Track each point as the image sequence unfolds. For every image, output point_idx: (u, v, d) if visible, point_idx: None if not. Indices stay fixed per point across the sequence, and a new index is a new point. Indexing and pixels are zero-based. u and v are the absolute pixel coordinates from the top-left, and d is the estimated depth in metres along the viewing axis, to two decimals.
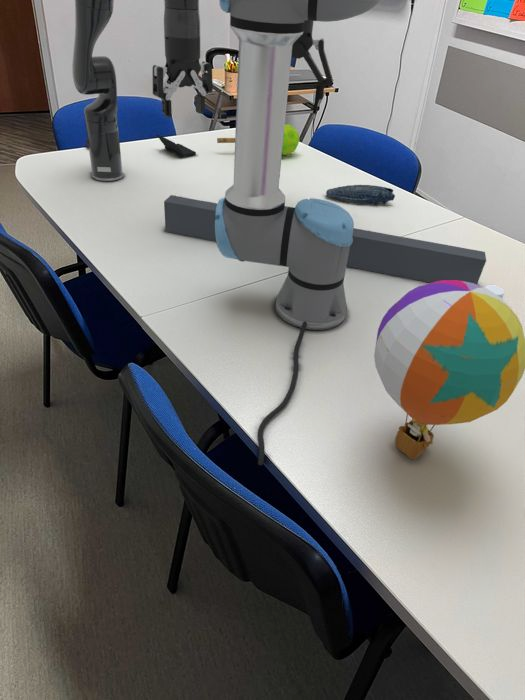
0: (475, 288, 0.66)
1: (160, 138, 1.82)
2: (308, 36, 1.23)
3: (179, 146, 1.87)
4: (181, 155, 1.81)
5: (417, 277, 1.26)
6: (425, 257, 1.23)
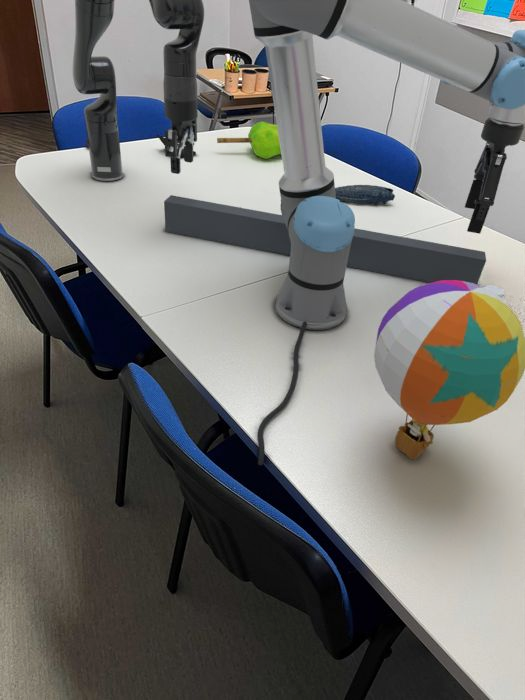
0: (475, 288, 0.66)
1: (160, 138, 1.82)
2: None
3: None
4: (181, 155, 1.81)
5: (417, 277, 1.26)
6: (425, 257, 1.23)
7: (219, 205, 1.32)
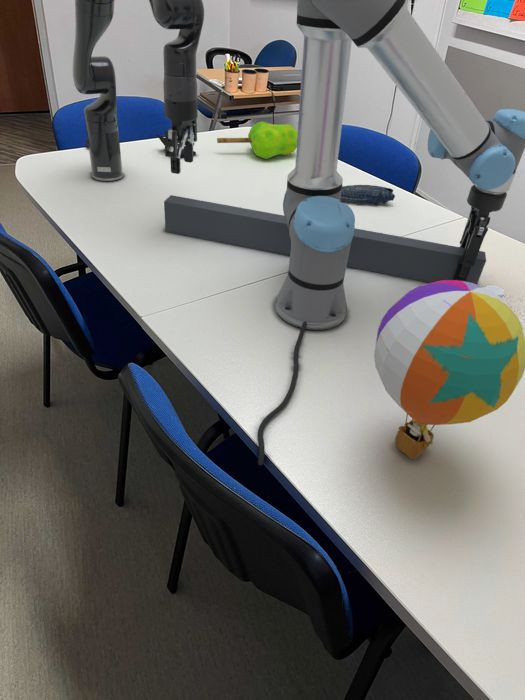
0: (475, 288, 0.66)
1: (160, 138, 1.82)
2: None
3: None
4: (181, 155, 1.81)
5: (417, 277, 1.26)
6: (425, 257, 1.23)
7: (219, 205, 1.32)
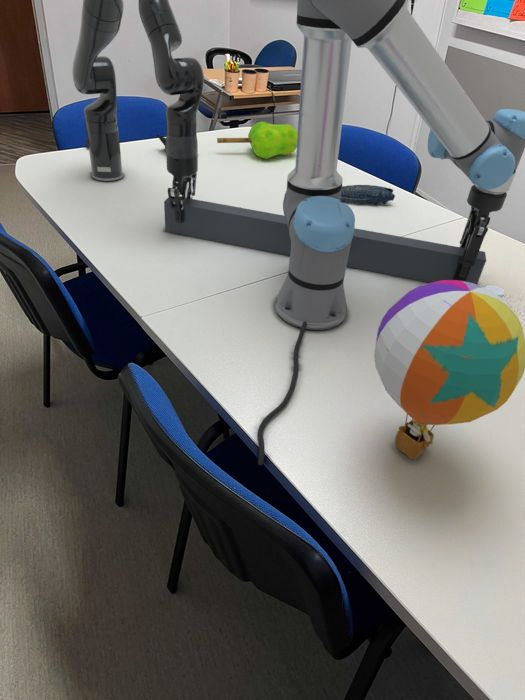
0: (475, 288, 0.66)
1: (160, 138, 1.82)
2: None
3: None
4: None
5: (417, 277, 1.26)
6: (425, 257, 1.23)
7: (219, 205, 1.32)
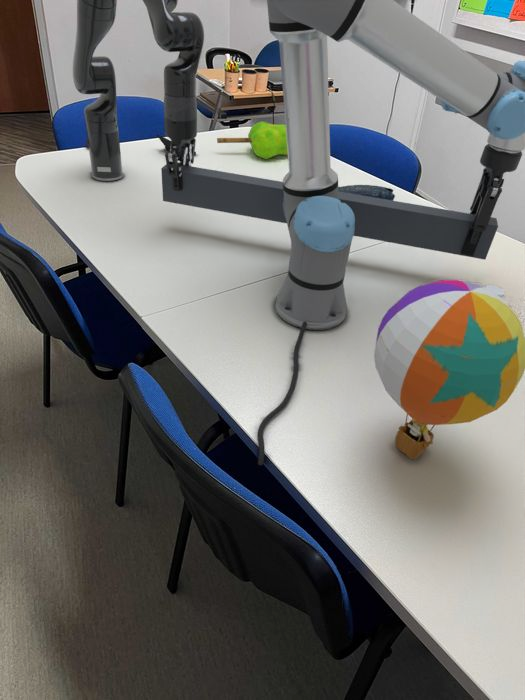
0: (475, 288, 0.66)
1: (160, 138, 1.82)
2: None
3: None
4: None
5: (426, 245, 1.21)
6: (433, 224, 1.17)
7: (219, 172, 1.27)
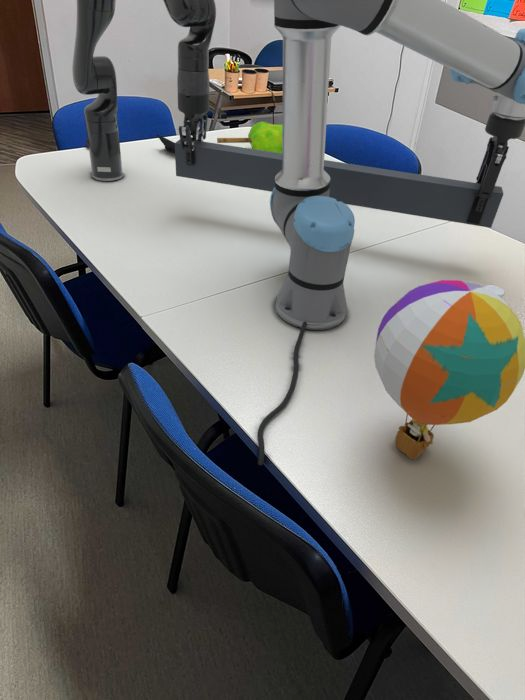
0: (475, 288, 0.66)
1: (160, 138, 1.82)
2: None
3: None
4: None
5: (432, 214, 1.24)
6: (440, 193, 1.20)
7: (230, 147, 1.30)
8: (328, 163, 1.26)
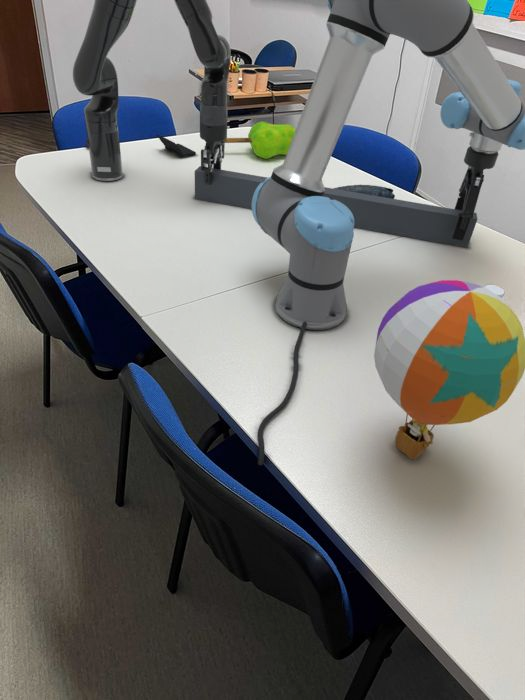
0: (475, 288, 0.66)
1: (160, 138, 1.82)
2: None
3: (179, 146, 1.87)
4: (181, 155, 1.81)
5: (417, 235, 1.44)
6: (424, 218, 1.41)
7: (243, 174, 1.50)
8: (328, 190, 1.45)
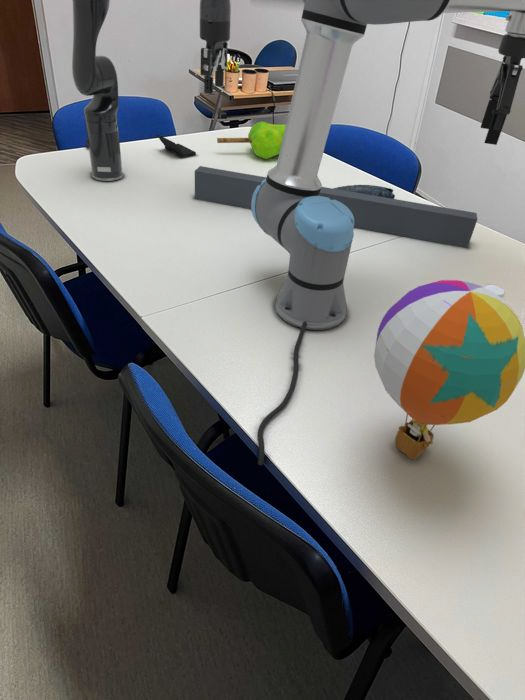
0: (475, 288, 0.66)
1: (160, 138, 1.82)
2: None
3: (179, 146, 1.87)
4: (181, 155, 1.81)
5: (417, 235, 1.44)
6: (424, 218, 1.41)
7: (243, 174, 1.50)
8: (328, 190, 1.45)
